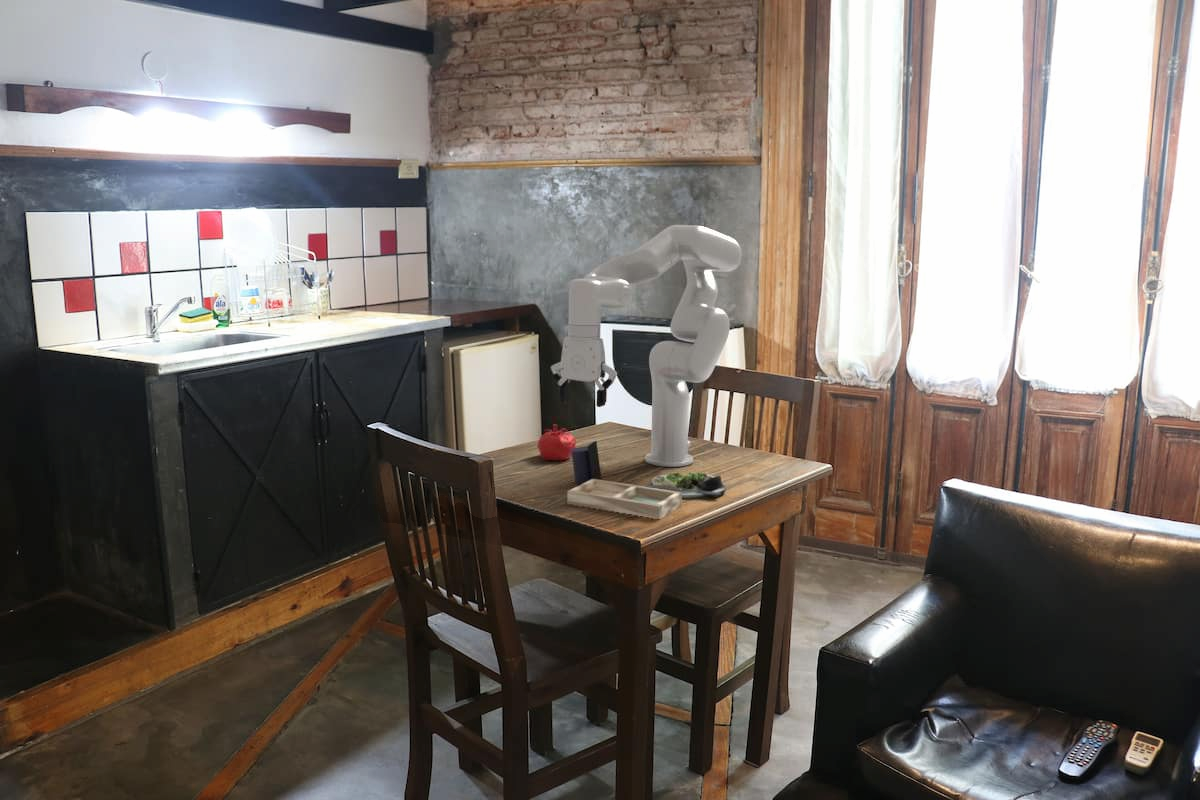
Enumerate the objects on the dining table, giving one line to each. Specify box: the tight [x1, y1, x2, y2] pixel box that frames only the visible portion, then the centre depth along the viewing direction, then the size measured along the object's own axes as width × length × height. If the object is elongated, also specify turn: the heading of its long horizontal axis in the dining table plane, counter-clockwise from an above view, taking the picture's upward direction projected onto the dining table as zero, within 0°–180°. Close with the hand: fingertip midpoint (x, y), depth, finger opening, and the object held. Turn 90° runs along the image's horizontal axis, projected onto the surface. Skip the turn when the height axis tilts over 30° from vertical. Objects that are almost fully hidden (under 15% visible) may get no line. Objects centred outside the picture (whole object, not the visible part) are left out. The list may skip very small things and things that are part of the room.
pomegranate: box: [537, 423, 577, 462], centre depth 261 cm, size 10×10×9 cm
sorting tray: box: [566, 479, 683, 520], centre depth 222 cm, size 12×23×3 cm, turn 62°
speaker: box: [571, 440, 603, 485], centre depth 238 cm, size 8×6×10 cm
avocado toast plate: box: [642, 471, 727, 499], centre depth 234 cm, size 19×18×5 cm
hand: (582, 403), depth 235 cm, fingers open, 9 cm apart
